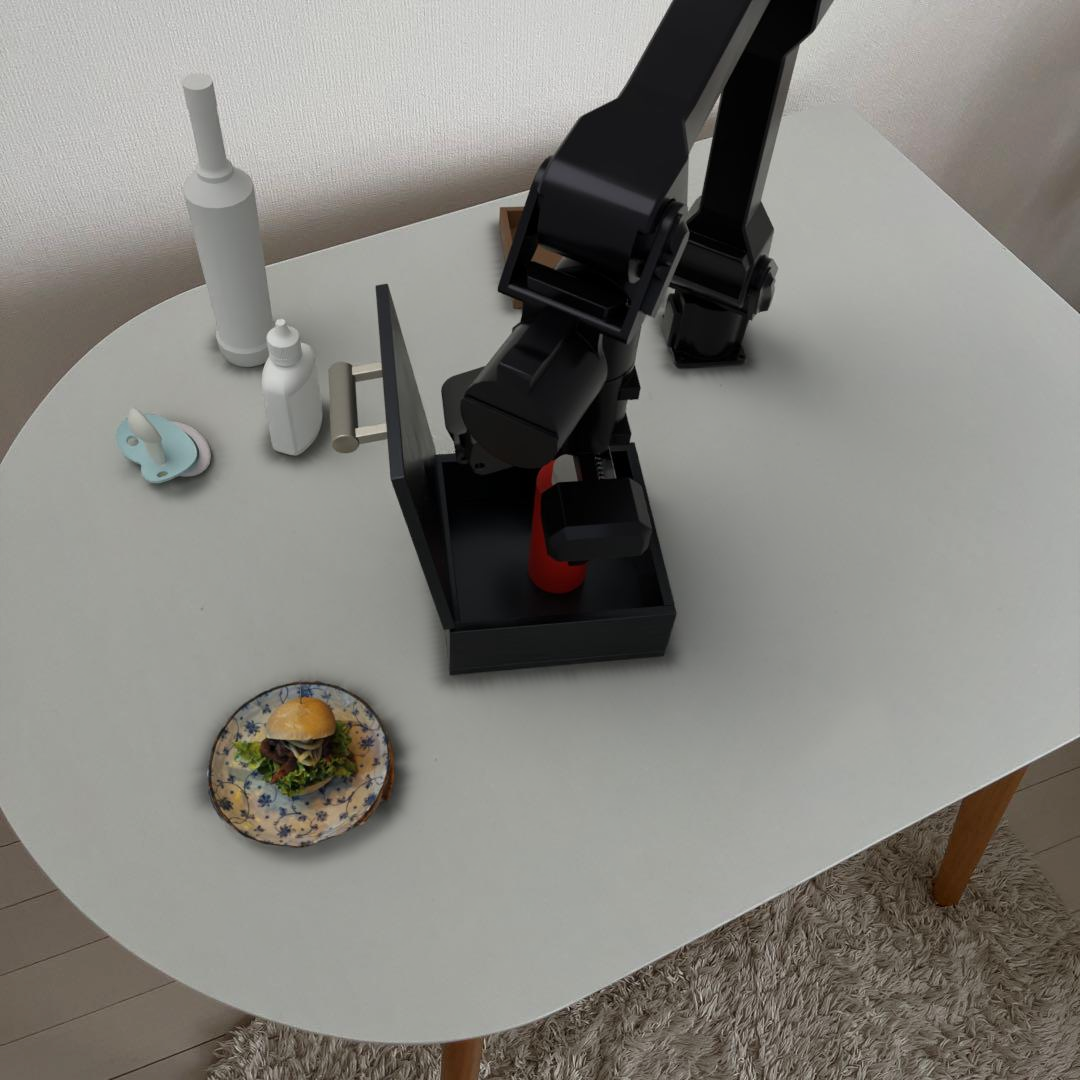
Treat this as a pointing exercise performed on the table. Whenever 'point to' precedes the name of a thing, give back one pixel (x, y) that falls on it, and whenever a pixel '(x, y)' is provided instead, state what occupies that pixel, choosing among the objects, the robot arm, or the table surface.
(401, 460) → the door
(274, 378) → the eye dropper bottle
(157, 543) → the table surface
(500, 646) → the black open box
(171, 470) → the pacifier
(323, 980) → the table surface
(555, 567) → the ketchup
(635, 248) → the robot arm
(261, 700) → the burger
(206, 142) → the bottle
